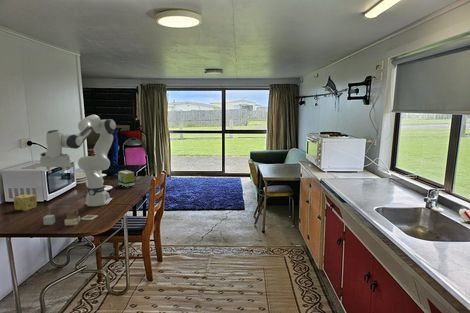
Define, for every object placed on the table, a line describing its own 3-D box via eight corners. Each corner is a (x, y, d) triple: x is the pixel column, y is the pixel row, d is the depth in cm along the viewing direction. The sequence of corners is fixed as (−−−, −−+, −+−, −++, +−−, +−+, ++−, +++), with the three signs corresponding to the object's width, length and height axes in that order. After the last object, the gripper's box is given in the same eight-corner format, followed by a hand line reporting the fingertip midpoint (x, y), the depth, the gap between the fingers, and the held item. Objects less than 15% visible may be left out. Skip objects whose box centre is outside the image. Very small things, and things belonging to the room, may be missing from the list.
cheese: (26, 211, 219) (24, 198, 218) (13, 210, 221) (12, 197, 220) (37, 206, 229) (36, 194, 228) (25, 206, 231) (24, 193, 230)
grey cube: (47, 222, 197) (46, 215, 196) (55, 221, 198) (54, 214, 197) (43, 225, 192) (43, 217, 191) (52, 224, 193) (51, 217, 192)
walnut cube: (71, 216, 198) (70, 209, 197) (78, 216, 197) (77, 209, 197) (66, 218, 193) (66, 211, 192) (73, 219, 192) (73, 211, 192)
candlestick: (92, 188, 288) (90, 160, 284) (116, 188, 286) (115, 160, 282) (79, 193, 268) (77, 163, 264) (105, 194, 266) (104, 164, 262)
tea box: (118, 185, 300) (117, 171, 298) (127, 183, 308) (126, 169, 306) (125, 187, 290) (125, 173, 288) (135, 186, 298) (134, 171, 296)
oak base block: (69, 221, 199) (69, 216, 198) (80, 221, 199) (80, 215, 199) (64, 225, 192) (64, 219, 191) (76, 225, 192) (75, 219, 192)
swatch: (87, 215, 210) (87, 214, 210) (98, 216, 209) (98, 214, 209) (80, 219, 202) (80, 218, 202) (91, 219, 202) (91, 218, 201)
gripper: (71, 153, 205) (73, 172, 207) (44, 152, 207) (46, 171, 209) (65, 154, 199) (67, 174, 200) (37, 153, 200) (39, 173, 202)
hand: (56, 173), depth 205 cm, fingers open, 8 cm apart
